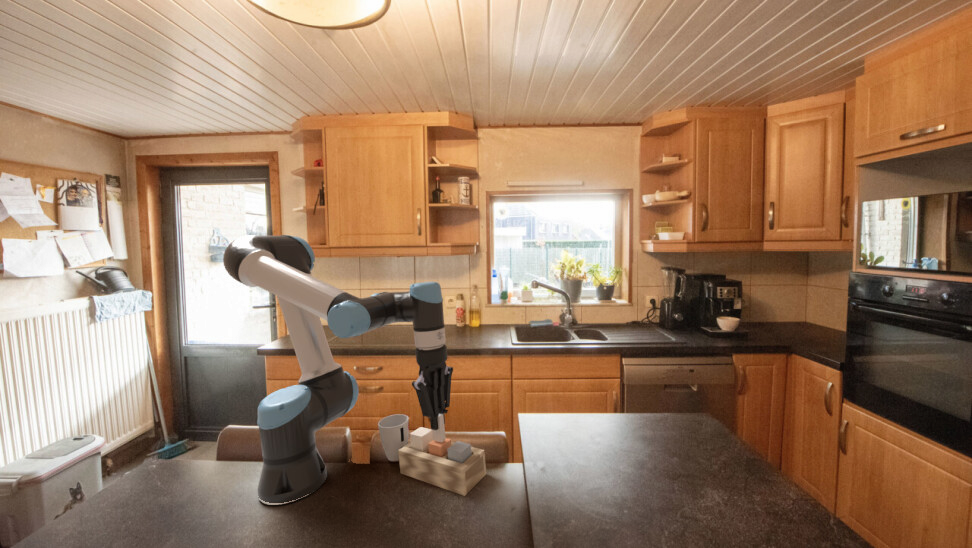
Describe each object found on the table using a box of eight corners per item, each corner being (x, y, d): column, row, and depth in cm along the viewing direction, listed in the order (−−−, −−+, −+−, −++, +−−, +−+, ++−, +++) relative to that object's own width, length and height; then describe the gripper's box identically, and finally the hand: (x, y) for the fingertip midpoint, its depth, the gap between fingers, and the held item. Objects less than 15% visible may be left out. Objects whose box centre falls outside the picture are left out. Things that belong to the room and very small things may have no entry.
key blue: (449, 473, 88) (447, 448, 88) (459, 464, 91) (457, 440, 91) (463, 477, 86) (460, 452, 86) (473, 468, 89) (470, 444, 89)
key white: (412, 456, 95) (409, 433, 94) (422, 448, 98) (420, 426, 98) (423, 460, 92) (421, 436, 92) (434, 452, 96) (432, 429, 95)
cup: (404, 465, 97) (400, 427, 97) (376, 463, 99) (372, 427, 98) (416, 448, 105) (413, 414, 105) (390, 447, 107) (386, 414, 106)
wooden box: (400, 473, 94) (398, 450, 93) (424, 455, 101) (422, 433, 101) (464, 495, 83) (462, 469, 83) (486, 473, 90) (484, 450, 90)
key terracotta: (430, 467, 91) (428, 443, 91) (440, 458, 95) (438, 436, 94) (443, 471, 89) (440, 447, 89) (453, 462, 93) (451, 439, 92)
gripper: (424, 354, 83) (433, 457, 84) (459, 340, 94) (467, 431, 95) (400, 351, 87) (409, 449, 88) (436, 338, 98) (444, 425, 99)
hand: (439, 440), depth 92 cm, fingers closed
